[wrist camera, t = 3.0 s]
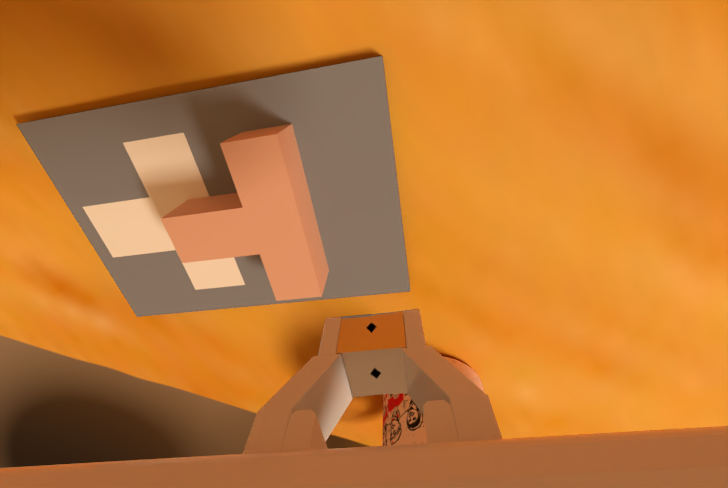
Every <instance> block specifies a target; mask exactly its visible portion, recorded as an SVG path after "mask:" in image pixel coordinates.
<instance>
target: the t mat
mask: <svg viewBox="0 0 728 488" xmlns="http://www.w3.org/2000/svg"><path fill="white" fill-rule="evenodd" d="M288 124H292V125H293V129H294V133H295V137H296V141H297V145H298V149H299V153H300V157H301V161H302V165H303V169H304V173H305V177H306V181H307V185H308V189H309V193H310V197H311V201H312V205H313V209H314V213H315V217H316V221H317V225H318V229H319V232H320V236H321V240H322V244H323V248H324V252H325V256H326V260H327V264H328V268H329V272H328V276H327V280H326V283H325V287H324V290H323V294H322V297H313V298H302V299H291V300H281V301H276V298H275V295H274V293H273V290H272V287H271V284H270V282H269V279H268V276H267V273H266V270H265V268H264V265H263V262H262V259H261V257H260V254H258V255H249V256H240V257H232V258H223V259H214V260H205V261H197V262H188V263H182V261H181V259H180V257H179V255H178V253H177V251H176V249H175V247H174V245H173V243H172V241H171V239H170V237H169V235H168V233H167V231H166V229H165V227H164V225H163V223H162V221H161V218H162V217H164V216H165V215H167V214H168V213H169V212H171V211H172V210H174V209H175V208H176V207H178V206H179V205H181V204H182V203H184V202H185V201H186V200H188V199H195V198H202V197H209V196H216V195H223V194H230V193H237V190H236V187H235V184H234V182H233V179H232V176H231V173H230V171H229V168H228V165H227V162H226V159H225V157H224V154H223V151H222V148H221V146H220V143H221V142H223V141H225V140H227V139H229V138H231V137H233V136H235V135H237V134H239V133H241V132H245V131H251V130H257V129H263V128H269V127H275V126H282V125H288ZM16 125H17V126H18V128H19V129H20V131H21V133H22V134H23V136H24V137H25V139H26V140H27V142H28V144H29V145H30V147H31V148H32V150H33V152H34V153H35V155H36V156H37V158H38V160H39V161H40V163H41V164H42V166H43V168H44V169H45V171H46V172H47V174H48V176H49V177H50V179H51V180H52V182H53V184H54V185H55V187H56V188H57V190H58V191H59V193H60V195H61V196H62V198H63V199H64V201H65V203H66V204H67V206H68V207H69V209H70V211H71V212H72V214H73V215H74V217H75V219H76V220H77V222H78V223H79V225H80V227H81V228H82V230H83V231H84V233H85V235H86V236H87V238H88V239H89V241H90V243H91V244H92V246H93V247H94V249H95V250H96V252H97V254H98V255H99V257H100V258H101V260H102V262H103V263H104V265H105V266H106V268H107V270H108V271H109V273H110V274H111V276H112V278H113V279H114V281H115V282H116V284H117V286H118V287H119V289H120V290H121V292H122V294H123V295H124V297H125V298H126V300H127V301H128V303H129V305H130V306H131V308H132V309H133V311H134V313H135V314H136V316H137V317H140V316H150V315H161V314H172V313H183V312H194V311H204V310H215V309H226V308H237V307H247V306H258V305H269V304H280V303H291V302H301V301H312V300H323V299H334V298H344V297H355V296H366V295H377V294H387V293H398V292H409V291H410V284H409V275H408V267H407V258H406V250H405V241H404V233H403V224H402V216H401V208H400V199H399V191H398V182H397V174H396V165H395V157H394V148H393V140H392V132H391V123H390V115H389V106H388V98H387V89H386V81H385V72H384V64H383V56H379V57H373V58H368V59H363V60H357V61H352V62H347V63H341V64H336V65H331V66H325V67H320V68H314V69H309V70H304V71H298V72H293V73H288V74H282V75H277V76H272V77H266V78H261V79H255V80H250V81H245V82H239V83H234V84H229V85H223V86H218V87H213V88H207V89H202V90H196V91H191V92H186V93H180V94H175V95H170V96H164V97H159V98H154V99H148V100H143V101H138V102H132V103H127V104H121V105H116V106H111V107H105V108H100V109H95V110H89V111H84V112H79V113H73V114H68V115H62V116H57V117H52V118H46V119H41V120H36V121H30V122H25V123H20V124H16Z"/></svg>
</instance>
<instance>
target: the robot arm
mask: <svg viewBox="0 0 728 488" xmlns="http://www.w3.org/2000/svg"><path fill="white" fill-rule="evenodd" d="M403 315H404V316H403ZM401 393H408V395H409V396H410V398H411V399H412V400H413V402H414V403H415V404H416V406H417V407H418V408H419V410H420V411H421V412H422V414H423V415H424V419H425V428H426V437H427V443H425V444H408V445H390V446H373V447H356V448H338V449H328V448H327V446H326V443H325V441H326V440H327V438H328V437H329V435H330V434H331V432H332V431H333V429H334V427H335V426H336V424H337V423H338V421H339V420H340V418H341V416H342V415H343V413H344V412H345V410H346V409H347V407H348V405H349V404H350V402H351V401H352V397H360V396H370V395H380V394H401ZM0 488H728V426H719V427H702V428H685V429H667V430H650V431H633V432H615V433H598V434H580V435H563V436H546V437H528V438H511V439H502V436H501V433H500V430H499V427H498V424H497V421H496V418H495V415H494V412H493V409H492V406H491V403H490V400H489V397H488V395H486V394H485V393H484V392H483V391H482V390H481V389H480V388H478V387H477V386H476V385H475V384H474V383H473V382H472V381H470V380H469V379H468V378H467V377H466V376H465V375H464V374H462V373H461V372H460V371H459V370H458V369H457V368H456V367H454V366H453V365H452V364H451V363H450V362H449V361H448V360H446V359H445V358H444V357H443V356H442V355H441V354H440V353H438V352H437V351H436V350H435V349H434V348H433V347H432V346H426V344H425V338H424V332H423V326H422V321H421V315H420V310H419V309H412V310H404V311H399V312H390V313H380V314H369V315H356V316H344V317H334V318H327V319H326V321H325V324H324V329H323V334H322V339H321V343H320V348H319V353H318V356H313V357H312V358H311V359H310V360H309V361H308V362H307V363H306V364H305V365H304V366H303V367H302V368H301V369H300V370H299V371H298V372H297V373H296V374H295V375H294V376H293V377H292V378H291V379H290V380H289V381H288V382H287V383H286V384H285V385H284V386H283V387H282V388H281V389H280V390H279V391H278V392H277V393H276V394H275V395H274V396H273V397H272V398H271V399H270V400H269V401H268V402H267V403H266V404H265V405H264V406H263V407H262V408H261V409H260V410H259V411H258V412H257V415H256V418H255V421H254V424H253V426H252V429H251V432H250V435H249V438H248V440H247V443H246V446H245V449H244V452H243V454H235V455H218V456H202V457H201V456H200V457H186V458H185V457H183V458H166V459H150V460H132V461H114V462H97V463H81V464H63V465H46V466H29V467H14V468H13V467H12V468H0Z"/></svg>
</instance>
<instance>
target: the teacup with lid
mask: <svg viewBox="0 0 728 488" xmlns="http://www.w3.org/2000/svg"><path fill="white" fill-rule="evenodd" d="M444 358H445V359H446V360H448V361H449V362H450V363H451V364H452V365H453V366H454V367H456V368H457V369H458V370H459V371H460V372H461V373H462V374H464V375H465V376H466V377H467V378H468V379H469V380H470V381H472V382H473V383H474V384H475V385H476V386H477V387H478V388H480V389H481V390H482V391H483V392H484V390H483V386H482V383H481V380H480V378H479V377H478V375H477V374H476V373H475V371H474V370H473V369H472V368H470V367H469V366H468V365H466V364H464V363H463V362H460V361H458V360H456V359H452V358H449V357H444ZM425 443H427V437H426V428H425V419H424V415H423V414H422V412H421V411H420V410H419V408H418V407H417V406H416V404H415V403H414V402H413V400H412V399H411V398H410V396H409V395H408V393H401V394H383V446H390V445H408V444H425Z"/></svg>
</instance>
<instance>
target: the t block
mask: <svg viewBox="0 0 728 488" xmlns="http://www.w3.org/2000/svg"><path fill="white" fill-rule="evenodd" d="M220 146H221V148H222V151H223V154H224V157H225V159H226V162H227V165H228V168H229V171H230V173H231V176H232V179H233V182H234V184H235V187H236V190H237V193H230V194H223V195H216V196H209V197H202V198H195V199H188V200H186V201H185V202H184V203H182V204H181V205H179V206H178V207H176V208H175V209H174V210H172V211H171V212H169V213H168V214H167V215H165V216H164V217H162V218H161V221H162V223H163V225H164V227H165V229H166V231H167V233H168V235H169V237H170V239H171V241H172V243H173V245H174V247H175V249H176V251H177V253H178V255H179V257H180V259H181V261H182V263H188V262H197V261H205V260H214V259H223V258H232V257H240V256H249V255H258V254H260V257H261V259H262V262H263V265H264V268H265V270H266V273H267V276H268V279H269V282H270V284H271V287H272V290H273V293H274V295H275V298H276V301H281V300H291V299H302V298H313V297H322V294H323V290H324V287H325V283H326V280H327V276H328V272H329V268H328V264H327V260H326V256H325V252H324V248H323V244H322V240H321V236H320V232H319V229H318V225H317V221H316V217H315V213H314V209H313V205H312V201H311V197H310V193H309V189H308V185H307V181H306V177H305V173H304V169H303V165H302V161H301V157H300V153H299V149H298V145H297V141H296V137H295V133H294V129H293V125H292V124H288V125H282V126H275V127H269V128H263V129H257V130H251V131H245V132H241V133H239V134H237V135H235V136H233V137H231V138H229V139H227V140H225V141H223V142H221V143H220Z"/></svg>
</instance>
